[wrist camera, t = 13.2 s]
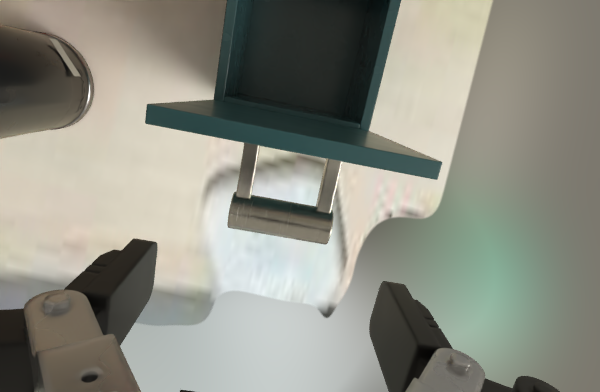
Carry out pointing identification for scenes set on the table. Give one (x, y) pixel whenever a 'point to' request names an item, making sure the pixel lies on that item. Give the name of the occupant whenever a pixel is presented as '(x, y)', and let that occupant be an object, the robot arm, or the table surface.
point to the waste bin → (306, 57)
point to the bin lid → (295, 138)
